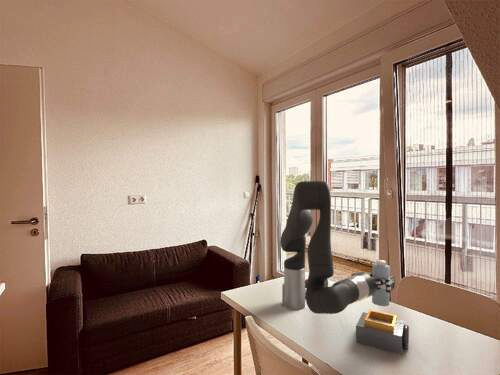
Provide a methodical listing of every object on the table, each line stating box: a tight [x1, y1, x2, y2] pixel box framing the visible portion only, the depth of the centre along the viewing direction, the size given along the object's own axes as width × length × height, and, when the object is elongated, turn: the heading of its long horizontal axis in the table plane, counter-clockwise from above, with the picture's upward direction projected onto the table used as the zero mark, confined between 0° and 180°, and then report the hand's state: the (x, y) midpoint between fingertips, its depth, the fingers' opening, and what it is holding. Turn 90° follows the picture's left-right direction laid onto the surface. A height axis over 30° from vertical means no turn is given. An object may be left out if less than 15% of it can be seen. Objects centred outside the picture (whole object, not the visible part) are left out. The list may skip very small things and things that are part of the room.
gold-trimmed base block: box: [355, 309, 410, 356], centre depth 102 cm, size 16×12×8 cm
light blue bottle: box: [371, 259, 391, 307], centre depth 102 cm, size 6×6×15 cm
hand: (384, 276), depth 104 cm, fingers closed on light blue bottle, 5 cm apart
